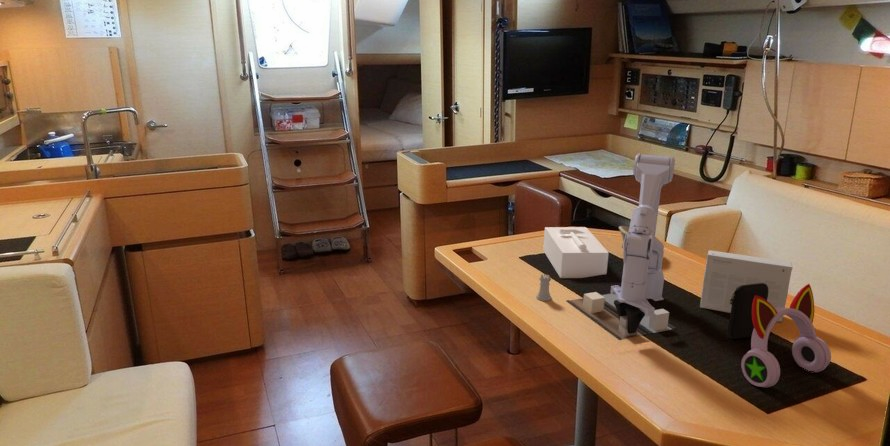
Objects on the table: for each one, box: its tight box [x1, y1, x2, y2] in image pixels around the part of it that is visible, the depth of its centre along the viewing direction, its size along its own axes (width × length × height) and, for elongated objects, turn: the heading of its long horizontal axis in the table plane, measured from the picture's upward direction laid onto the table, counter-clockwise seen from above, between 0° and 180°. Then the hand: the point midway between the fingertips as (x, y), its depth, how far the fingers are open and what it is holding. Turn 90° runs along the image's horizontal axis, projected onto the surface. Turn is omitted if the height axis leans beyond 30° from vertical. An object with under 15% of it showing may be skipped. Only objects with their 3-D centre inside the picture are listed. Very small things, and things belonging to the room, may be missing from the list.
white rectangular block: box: [542, 226, 610, 279], centre depth 208 cm, size 14×25×11 cm, turn 4°
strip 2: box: [601, 293, 672, 334], centre depth 172 cm, size 6×24×6 cm, turn 22°
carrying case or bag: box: [726, 283, 769, 340], centre depth 160 cm, size 11×3×15 cm, turn 106°
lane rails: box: [565, 299, 677, 341], centre depth 171 cm, size 18×24×1 cm
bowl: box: [618, 225, 630, 249], centre depth 217 cm, size 15×14×10 cm
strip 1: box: [569, 297, 642, 340], centre depth 169 cm, size 6×24×6 cm, turn 22°
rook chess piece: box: [535, 273, 552, 302], centre depth 179 cm, size 4×4×8 cm
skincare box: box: [699, 249, 793, 323], centre depth 175 cm, size 21×6×16 cm, turn 65°
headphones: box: [740, 283, 832, 388], centre depth 142 cm, size 20×10×20 cm, turn 115°
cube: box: [582, 291, 605, 313], centre depth 173 cm, size 4×4×4 cm
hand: (628, 329), depth 160 cm, fingers closed on strip 1, 2 cm apart
